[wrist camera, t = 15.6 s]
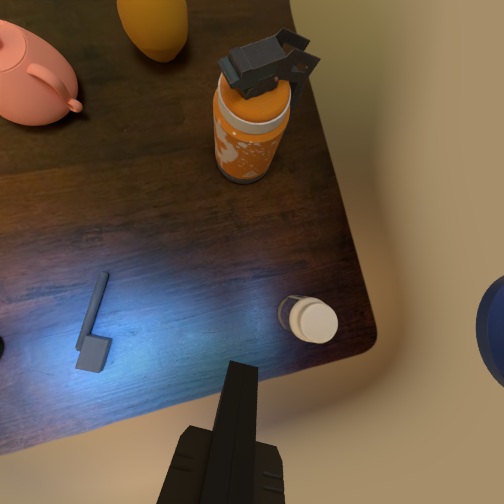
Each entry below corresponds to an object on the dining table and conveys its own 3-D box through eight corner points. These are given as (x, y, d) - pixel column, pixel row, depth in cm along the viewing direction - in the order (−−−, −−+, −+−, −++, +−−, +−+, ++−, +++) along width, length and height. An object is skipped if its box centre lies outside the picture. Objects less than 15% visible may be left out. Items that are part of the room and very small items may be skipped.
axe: (102, 271, 37) (98, 270, 36) (131, 277, 37) (128, 277, 36) (72, 364, 35) (67, 367, 34) (103, 370, 35) (98, 373, 34)
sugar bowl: (28, 48, 39) (-38, -33, 29) (111, 90, 40) (74, 26, 30) (-19, 110, 37) (-107, 46, 27) (69, 153, 38) (15, 107, 28)
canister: (205, 146, 41) (192, 19, 21) (264, 121, 43) (301, -17, 23) (231, 194, 40) (241, 110, 21) (289, 166, 42) (349, 65, 23)
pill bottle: (286, 338, 39) (309, 357, 29) (271, 304, 39) (287, 311, 29) (318, 321, 40) (350, 334, 30) (302, 288, 40) (329, 290, 30)
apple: (202, 69, 43) (196, -11, 31) (147, 85, 41) (118, 8, 29) (180, 20, 43) (165, -76, 32) (124, 34, 42) (87, -61, 30)
